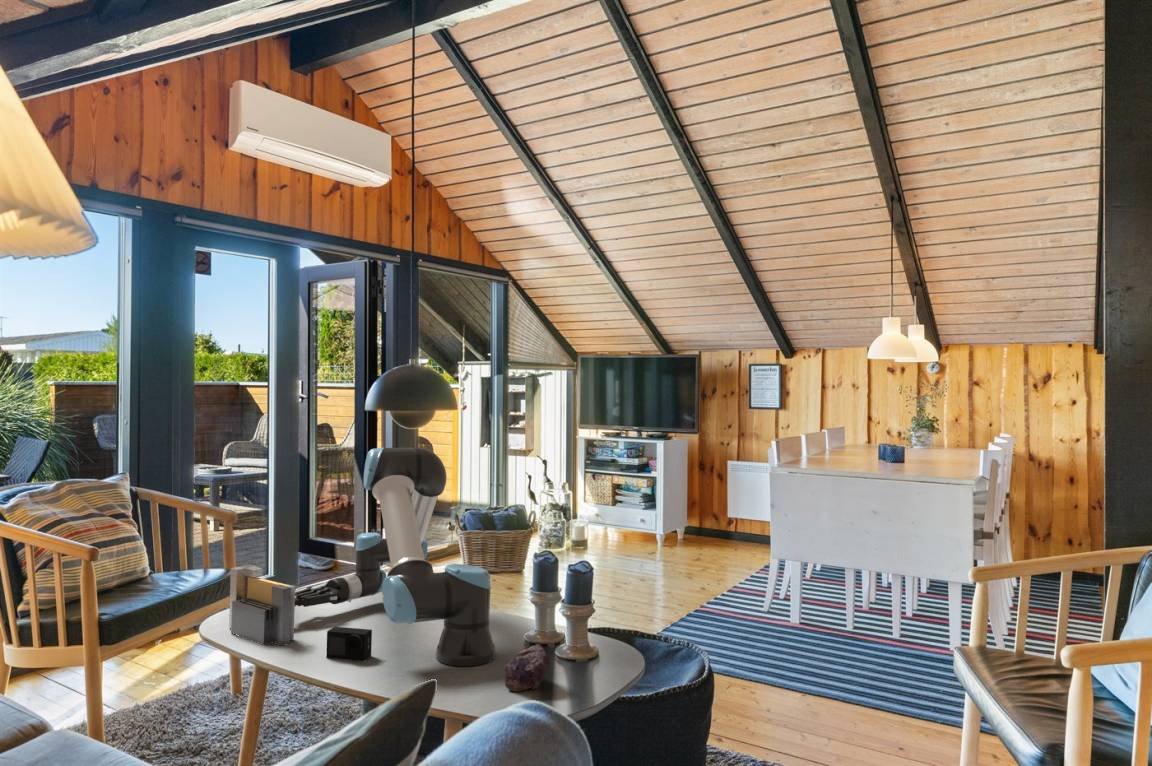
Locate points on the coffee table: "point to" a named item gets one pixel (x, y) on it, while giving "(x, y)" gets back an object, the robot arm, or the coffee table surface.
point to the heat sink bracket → (258, 609)
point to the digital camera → (349, 643)
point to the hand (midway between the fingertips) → (275, 605)
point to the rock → (526, 669)
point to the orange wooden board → (269, 595)
